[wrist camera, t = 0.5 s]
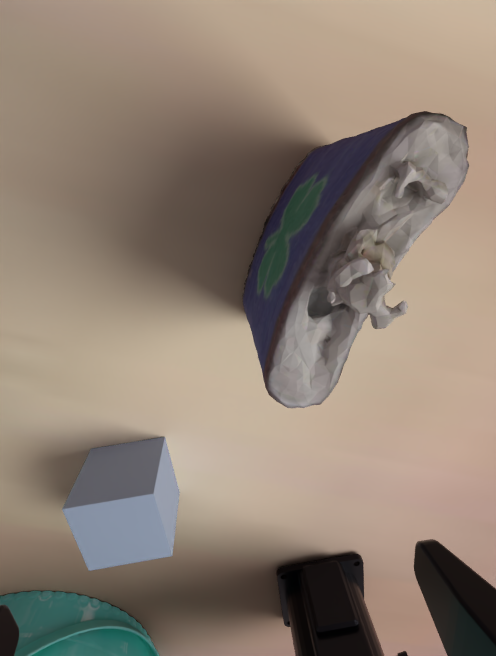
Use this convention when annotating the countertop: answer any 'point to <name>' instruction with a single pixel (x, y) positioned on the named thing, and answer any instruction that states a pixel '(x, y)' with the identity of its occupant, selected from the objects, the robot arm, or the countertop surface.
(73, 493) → the cube
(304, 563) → the robot arm
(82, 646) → the basket
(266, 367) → the flask
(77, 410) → the countertop surface
